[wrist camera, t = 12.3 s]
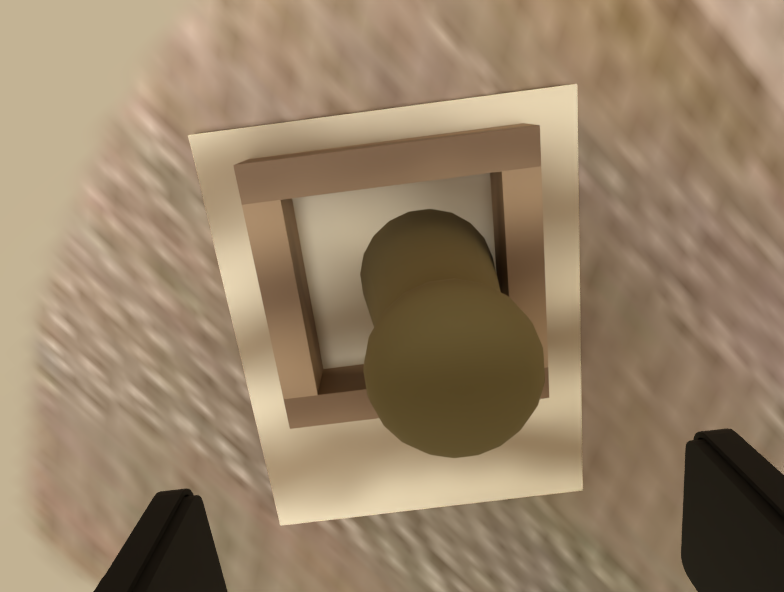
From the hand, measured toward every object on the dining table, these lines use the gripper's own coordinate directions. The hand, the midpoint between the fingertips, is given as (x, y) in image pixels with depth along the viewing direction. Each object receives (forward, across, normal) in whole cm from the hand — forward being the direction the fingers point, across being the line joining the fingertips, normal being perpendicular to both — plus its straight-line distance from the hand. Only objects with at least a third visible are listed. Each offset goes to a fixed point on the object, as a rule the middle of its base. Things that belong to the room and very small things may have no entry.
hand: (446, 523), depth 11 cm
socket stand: (+16, 0, +2) cm, 16 cm away
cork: (+15, -1, -1) cm, 15 cm away
